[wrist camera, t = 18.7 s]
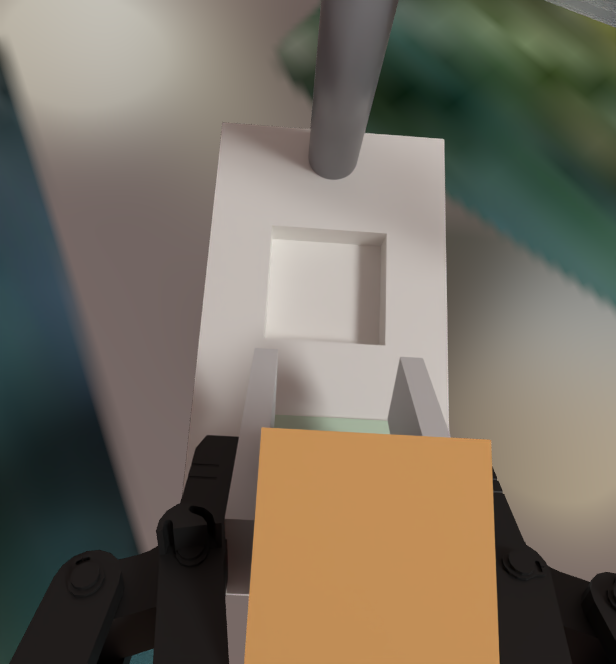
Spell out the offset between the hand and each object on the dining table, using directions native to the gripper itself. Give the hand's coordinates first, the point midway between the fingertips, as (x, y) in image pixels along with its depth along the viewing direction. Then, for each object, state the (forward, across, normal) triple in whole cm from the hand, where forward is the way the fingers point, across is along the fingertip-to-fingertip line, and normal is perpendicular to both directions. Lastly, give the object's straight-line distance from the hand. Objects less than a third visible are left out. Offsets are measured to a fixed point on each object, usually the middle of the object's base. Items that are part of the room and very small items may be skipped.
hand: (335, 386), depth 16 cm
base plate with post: (+7, 0, -3) cm, 8 cm away
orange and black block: (0, 0, -5) cm, 5 cm away
